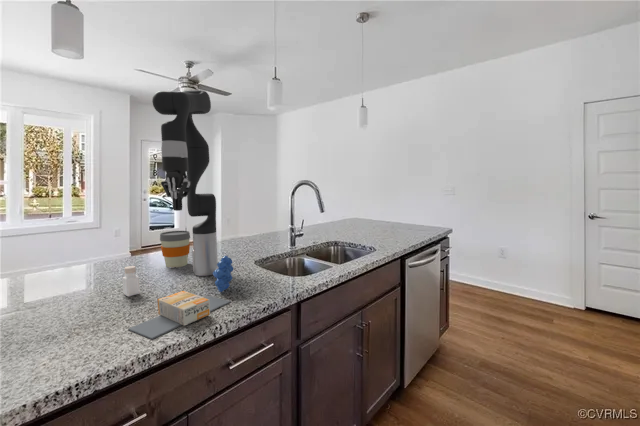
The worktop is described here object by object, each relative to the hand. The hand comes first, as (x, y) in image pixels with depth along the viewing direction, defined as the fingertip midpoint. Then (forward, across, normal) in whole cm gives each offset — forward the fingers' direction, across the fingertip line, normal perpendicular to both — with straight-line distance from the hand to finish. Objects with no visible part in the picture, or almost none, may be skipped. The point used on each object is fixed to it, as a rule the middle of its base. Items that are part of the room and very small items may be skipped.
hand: (177, 210), depth 99 cm
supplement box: (+26, +7, -9) cm, 29 cm away
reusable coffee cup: (+29, -36, +24) cm, 52 cm away
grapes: (+29, +7, +11) cm, 32 cm away
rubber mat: (+29, +13, -9) cm, 33 cm away
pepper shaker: (+29, -17, -7) cm, 35 cm away
